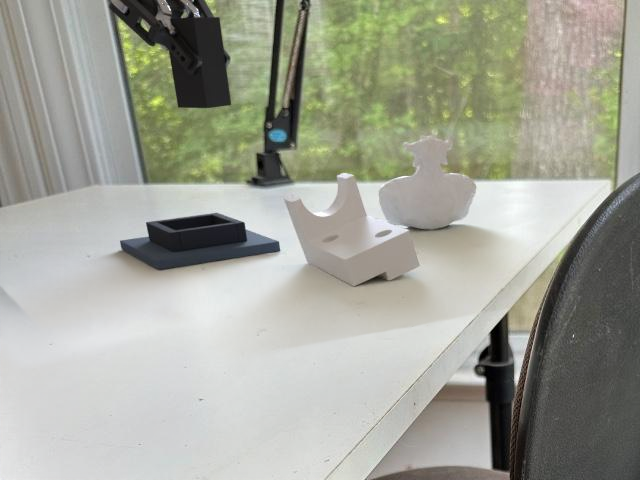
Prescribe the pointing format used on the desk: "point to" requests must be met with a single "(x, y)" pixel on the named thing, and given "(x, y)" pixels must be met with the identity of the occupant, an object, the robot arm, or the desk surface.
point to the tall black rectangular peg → (202, 65)
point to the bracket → (352, 238)
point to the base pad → (196, 241)
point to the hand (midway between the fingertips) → (211, 66)
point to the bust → (427, 189)
